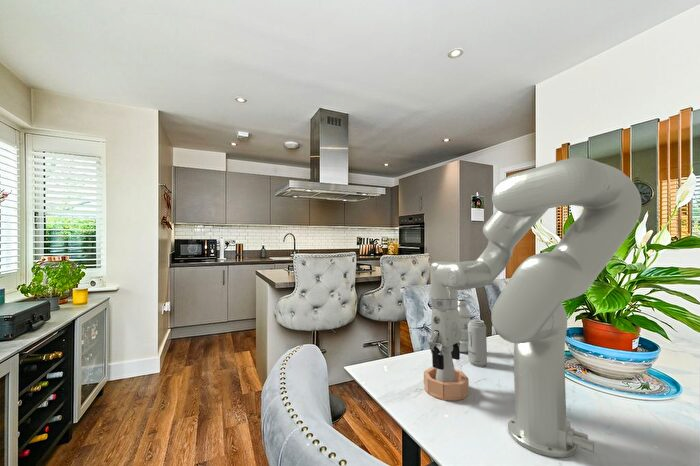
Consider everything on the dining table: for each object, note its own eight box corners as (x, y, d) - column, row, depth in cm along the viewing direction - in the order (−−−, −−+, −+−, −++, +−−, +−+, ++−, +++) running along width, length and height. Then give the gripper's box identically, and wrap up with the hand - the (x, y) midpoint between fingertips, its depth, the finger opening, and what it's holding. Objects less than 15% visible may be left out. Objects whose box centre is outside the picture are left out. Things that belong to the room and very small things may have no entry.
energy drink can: (465, 360, 108) (464, 319, 109) (482, 360, 109) (481, 318, 109) (473, 367, 102) (472, 323, 103) (490, 367, 103) (489, 323, 103)
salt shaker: (458, 393, 83) (456, 346, 84) (436, 391, 84) (435, 344, 85) (455, 383, 89) (454, 339, 89) (435, 382, 90) (434, 338, 91)
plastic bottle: (474, 354, 114) (473, 301, 115) (457, 354, 114) (455, 302, 115) (468, 348, 121) (467, 298, 121) (451, 348, 121) (450, 298, 121)
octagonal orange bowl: (474, 389, 87) (474, 374, 87) (456, 406, 78) (455, 389, 78) (437, 377, 95) (437, 363, 95) (416, 390, 87) (416, 375, 87)
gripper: (441, 310, 79) (444, 376, 78) (469, 301, 91) (471, 358, 90) (417, 306, 84) (419, 368, 83) (446, 298, 96) (448, 352, 95)
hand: (446, 363), depth 87 cm, fingers open, 9 cm apart
